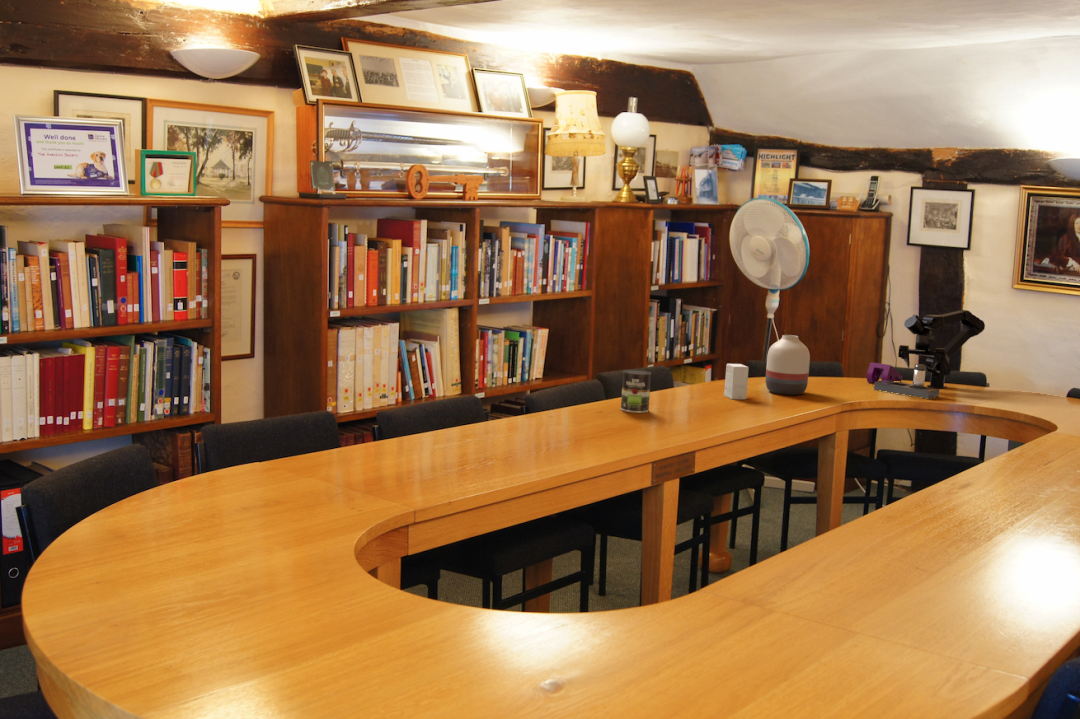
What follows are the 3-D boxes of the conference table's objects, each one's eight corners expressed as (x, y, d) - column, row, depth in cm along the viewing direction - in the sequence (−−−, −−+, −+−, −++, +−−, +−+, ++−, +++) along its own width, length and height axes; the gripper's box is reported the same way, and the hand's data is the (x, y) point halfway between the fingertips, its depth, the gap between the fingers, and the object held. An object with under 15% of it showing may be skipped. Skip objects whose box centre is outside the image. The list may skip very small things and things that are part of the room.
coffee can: (648, 414, 339) (650, 375, 337) (619, 411, 341) (621, 373, 338) (650, 408, 349) (652, 370, 347) (622, 406, 351) (624, 368, 348)
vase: (789, 388, 404) (794, 332, 400) (815, 396, 388) (820, 338, 385) (756, 389, 397) (760, 333, 394) (781, 397, 382) (786, 339, 378)
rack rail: (884, 387, 415) (885, 379, 414) (938, 397, 397) (939, 388, 397) (873, 390, 408) (874, 381, 408) (928, 399, 391) (929, 390, 390)
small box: (746, 399, 374) (749, 366, 372) (731, 399, 373) (733, 366, 371) (738, 395, 382) (741, 363, 380) (723, 395, 381) (726, 363, 379)
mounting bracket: (880, 393, 436) (864, 379, 423) (885, 376, 437) (870, 362, 425) (900, 396, 429) (885, 382, 417) (905, 379, 431) (890, 365, 418)
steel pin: (914, 394, 402) (917, 363, 400) (924, 396, 399) (928, 365, 397) (909, 395, 399) (912, 364, 397) (919, 397, 396) (923, 366, 394)
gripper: (901, 326, 410) (897, 354, 402) (948, 330, 404) (945, 359, 395) (899, 342, 419) (896, 370, 410) (945, 346, 412) (943, 375, 404)
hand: (920, 368), depth 405 cm, fingers open, 9 cm apart
